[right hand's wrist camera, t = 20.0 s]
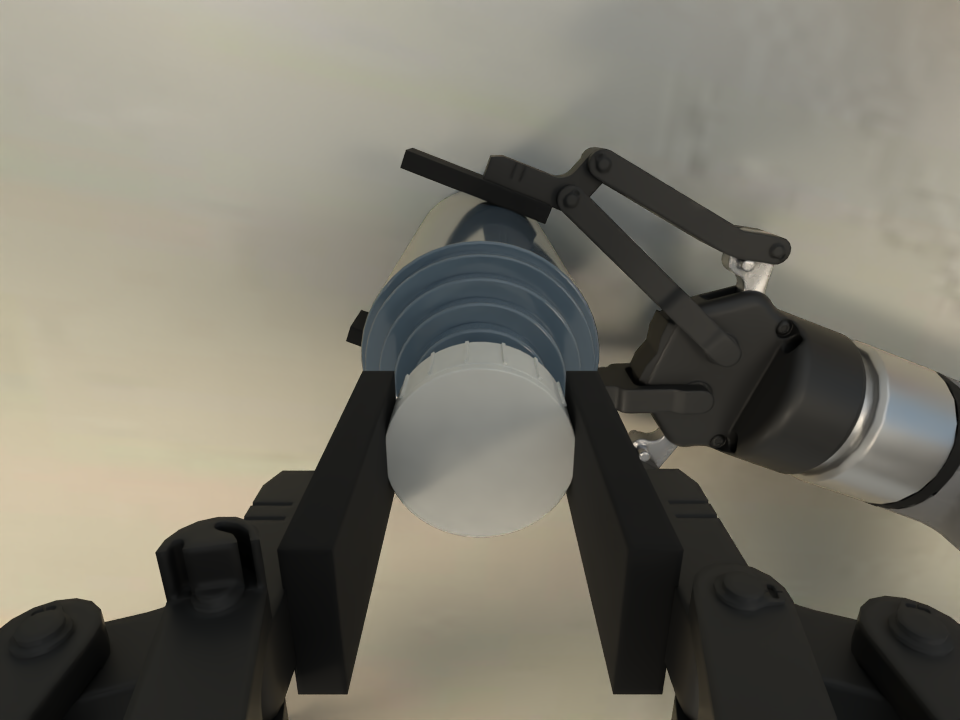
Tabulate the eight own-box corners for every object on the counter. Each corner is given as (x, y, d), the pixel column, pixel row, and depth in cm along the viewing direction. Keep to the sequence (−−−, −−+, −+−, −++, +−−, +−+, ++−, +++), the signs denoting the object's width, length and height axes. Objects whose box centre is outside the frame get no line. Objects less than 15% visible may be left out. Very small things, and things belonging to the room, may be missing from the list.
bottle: (442, 166, 32) (379, 230, 12) (568, 220, 33) (703, 362, 13) (395, 291, 34) (279, 517, 14) (514, 338, 35) (557, 609, 15)
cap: (588, 468, 15) (601, 508, 14) (430, 516, 16) (424, 559, 14) (537, 315, 14) (544, 339, 12) (365, 373, 14) (350, 403, 13)
